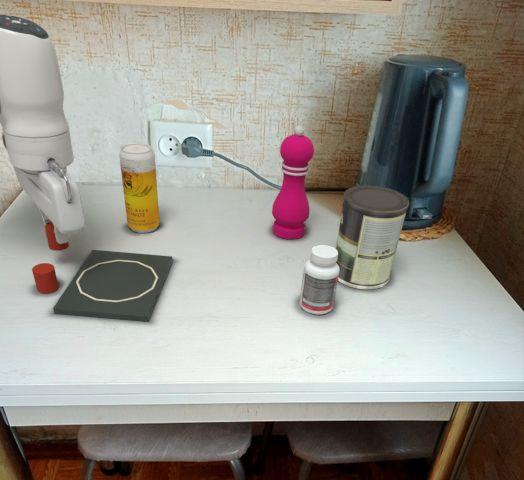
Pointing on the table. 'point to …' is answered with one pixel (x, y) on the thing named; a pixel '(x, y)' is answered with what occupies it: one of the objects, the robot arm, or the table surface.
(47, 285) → the dot
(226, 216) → the table surface
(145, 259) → the slate board
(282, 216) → the pepper mill
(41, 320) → the table surface
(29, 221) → the table surface
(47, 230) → the red cylinder
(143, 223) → the beer can
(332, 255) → the pill bottle
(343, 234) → the coffee can
